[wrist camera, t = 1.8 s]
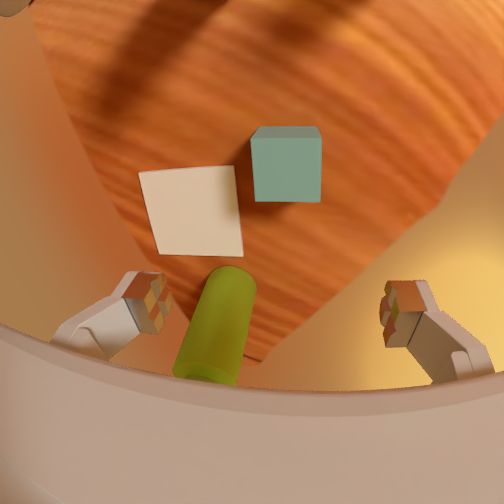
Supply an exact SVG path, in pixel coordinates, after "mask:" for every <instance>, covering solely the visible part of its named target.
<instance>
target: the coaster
mask: <svg viewBox="0 0 504 504" xmlns="http://www.w3.org/2000/svg"><path fill="white" fill-rule="evenodd" d="M138 174H139V179H140V183H141V187H142V192H143V196H144V200H145V204H146V208H147V212H148V216H149V219H150V223H151V227H152V231H153V234H154V238H155V241H156V245H157V248H158V252H159V254H168V255H201V256H236V257H243V255H244V252H243V243H242V233H241V224H240V214H239V205H238V195H237V185H236V176H235V166H234V165H224V166H205V167H190V168H177V169H166V170H155V171H146V172H140V173H138Z"/></svg>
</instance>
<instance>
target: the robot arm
mask: <svg viewBox="0 0 504 504" xmlns="http://www.w3.org/2000/svg"><path fill="white" fill-rule="evenodd" d="M31 1H32V0H0V15H1V16H3V17H10V16H13V15H15V14H17V13H18V12H20V11H21V10H22V9H23V8H25V6H27V5H28V4H29V3H30V2H31ZM166 283H167V279H166V276H165V274H163V273H156V272H144V271H128V272H127V273H126V275H125V276H124V277H123V279H122V280H121V282H120V283H119V284H118V286H117V287H116V288H115V290H114V291H113V293H112V294H111V296H106V297H105V298H103V299H101V300H99V301H98V302H96V303H94V304H93V305H91V306H89V307H88V308H86V309H84V310H83V311H81V312H79V313H78V314H76V315H74V316H73V317H71V318H69V319H68V320H66V321H64V322H63V323H62V325H61V326H60V327H59V329H58V330H57V332H56V333H55V335H54V336H53V338H52V339H51V341H50V342H49V343H48V342H45V341H42V340H40V339H37V338H34V337H32V336H30V335H27V334H24V333H22V332H20V331H17V330H15V329H12V328H10V327H8V326H6V325H4V324H1V323H0V504H504V371H501V372H497V373H495V371H494V367H493V365H492V362H491V359H490V357H489V354H488V351H487V349H486V346H485V345H483V344H482V343H481V342H480V341H479V340H478V339H476V338H475V337H474V336H473V335H472V334H471V333H469V332H468V331H467V330H466V329H465V328H463V327H462V326H461V325H460V324H459V323H457V322H456V321H455V320H454V319H453V318H451V317H450V316H449V315H448V314H446V313H445V312H444V311H440V310H439V308H438V305H437V303H436V301H435V298H434V296H433V294H432V291H431V289H430V287H429V285H428V283H427V281H426V280H413V281H387V283H386V285H385V289H384V290H385V293H386V295H385V296H384V297H383V298H382V300H381V304H380V312H379V314H380V322H381V324H382V325H383V326H384V327H385V328H384V332H383V337H384V342H385V347H386V348H388V347H389V348H392V347H407V349H408V350H409V352H410V353H411V354H412V355H413V357H414V358H415V359H416V360H417V361H418V363H419V364H420V365H421V366H422V367H423V369H424V370H425V371H426V373H427V374H428V375H429V376H430V377H431V379H432V380H433V382H432V383H431V384H430V385H424V386H415V387H405V388H394V389H380V390H361V391H300V390H279V389H265V388H253V387H242V386H234V385H225V384H217V383H210V382H203V381H197V380H191V379H185V378H179V377H174V376H168V375H163V374H158V373H153V372H148V371H144V370H140V369H135V368H131V367H127V366H123V365H119V364H115V363H112V362H109V359H110V358H111V357H113V356H114V355H115V354H116V353H117V352H119V351H120V350H121V349H122V348H123V347H124V346H125V345H127V344H128V343H129V342H130V341H132V340H133V339H134V338H135V337H136V336H137V335H139V334H140V332H143V333H151V334H159V333H160V331H161V329H162V326H163V325H164V323H165V321H164V318H163V317H165V316H166V315H168V314H169V312H170V310H171V307H172V294H171V291H170V290H169V289H168V288H167V287H166V286H165V285H166Z"/></svg>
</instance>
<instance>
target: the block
mask: <svg viewBox="0 0 504 504" xmlns="http://www.w3.org/2000/svg"><path fill="white" fill-rule="evenodd" d="M251 152H252V165H253V178H254V191H255V202H320V197H321V154H322V138H321V136H320V133H319V130H318V128H317V127H311V126H275V127H259V128H258V129H257V130H256V132H255V133H254V135H253V136H252V137H251Z"/></svg>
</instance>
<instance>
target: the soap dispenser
mask: <svg viewBox="0 0 504 504" xmlns="http://www.w3.org/2000/svg"><path fill="white" fill-rule="evenodd" d="M255 294H256V283H255V281H254V279H253V278H252V276H251V275H250V274H249V273H247V272H246V271H244V270H242V269H240V268H237V267H233V266H223V267H219V268H217V269H215V270H213V271H212V272H211V273H210V275H209V277H208V280H207V282H206V284H205V287H204V289H203V292H202V294H201V297H200V299H199V302H198V304H197V307H196V309H195V312H194V314H193V317H192V320H191V322H190V325H189V327H188V330H187V332H186V335H185V338H184V340H183V343H182V345H181V348H180V351H179V353H178V356H177V358H176V361H175V364H174V367H173V375H174V376H175V377H179V378H185V379H191V380H197V381H203V382H210V383H217V384H225V385H234V386H236V384H237V380H238V376H239V371H240V366H241V362H242V357H243V352H244V347H245V343H246V338H247V333H248V328H249V323H250V318H251V314H252V309H253V304H254V299H255Z"/></svg>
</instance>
